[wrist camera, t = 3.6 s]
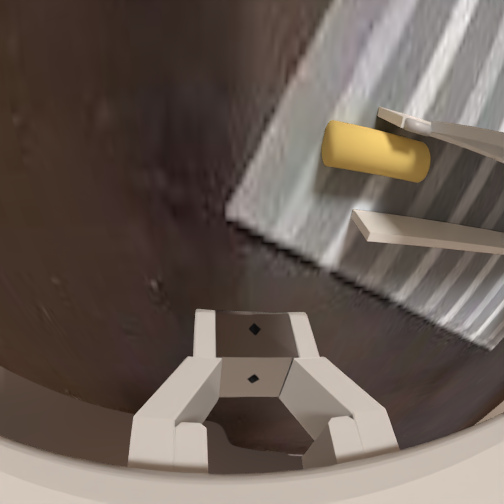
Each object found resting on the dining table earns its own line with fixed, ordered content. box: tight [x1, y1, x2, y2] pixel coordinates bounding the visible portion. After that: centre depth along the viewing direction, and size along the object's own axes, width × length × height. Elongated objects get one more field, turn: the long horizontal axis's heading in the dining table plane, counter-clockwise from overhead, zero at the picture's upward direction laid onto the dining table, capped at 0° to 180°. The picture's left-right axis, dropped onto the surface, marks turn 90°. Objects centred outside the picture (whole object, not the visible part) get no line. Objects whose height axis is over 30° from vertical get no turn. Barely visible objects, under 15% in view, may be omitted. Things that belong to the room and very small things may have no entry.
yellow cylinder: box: [322, 120, 431, 183], centre depth 20 cm, size 7×3×3 cm
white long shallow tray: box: [351, 107, 504, 255], centre depth 21 cm, size 25×9×4 cm, turn 84°
